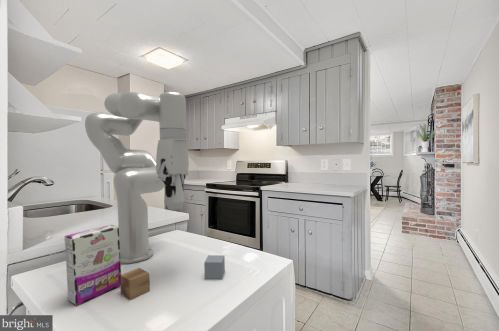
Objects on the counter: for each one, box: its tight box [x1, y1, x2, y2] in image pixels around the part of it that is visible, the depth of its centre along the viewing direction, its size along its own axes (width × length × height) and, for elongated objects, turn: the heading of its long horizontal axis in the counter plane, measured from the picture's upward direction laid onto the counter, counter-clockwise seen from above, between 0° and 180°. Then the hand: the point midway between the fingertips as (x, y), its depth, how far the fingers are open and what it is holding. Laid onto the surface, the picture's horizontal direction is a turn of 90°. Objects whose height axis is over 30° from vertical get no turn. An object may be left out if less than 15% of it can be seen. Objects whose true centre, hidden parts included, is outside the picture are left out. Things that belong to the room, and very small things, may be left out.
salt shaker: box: [163, 174, 186, 211], centre depth 71 cm, size 6×6×13 cm
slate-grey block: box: [203, 254, 226, 281], centre depth 71 cm, size 5×5×5 cm
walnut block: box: [120, 267, 151, 301], centre depth 62 cm, size 5×5×5 cm
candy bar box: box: [64, 224, 122, 306], centre depth 62 cm, size 11×5×16 cm, turn 148°
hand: (174, 197), depth 71 cm, fingers closed on salt shaker, 3 cm apart
